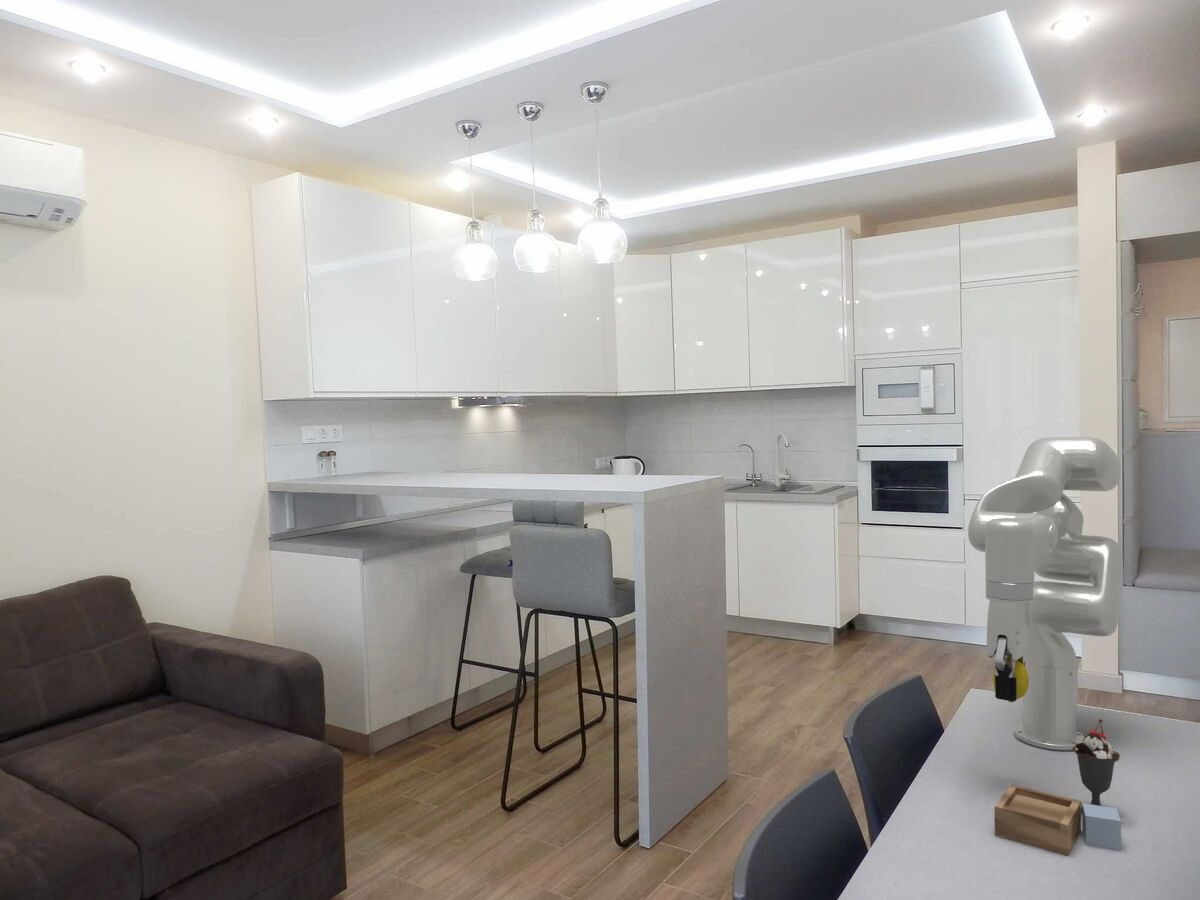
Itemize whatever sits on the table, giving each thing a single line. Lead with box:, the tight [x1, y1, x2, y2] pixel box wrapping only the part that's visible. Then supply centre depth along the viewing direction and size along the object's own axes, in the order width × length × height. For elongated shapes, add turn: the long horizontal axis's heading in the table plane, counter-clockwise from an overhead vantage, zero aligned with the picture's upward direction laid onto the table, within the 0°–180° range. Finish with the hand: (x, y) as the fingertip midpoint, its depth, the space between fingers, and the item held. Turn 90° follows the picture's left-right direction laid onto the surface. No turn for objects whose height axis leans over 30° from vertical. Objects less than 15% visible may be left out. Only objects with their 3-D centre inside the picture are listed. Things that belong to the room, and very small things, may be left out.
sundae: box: [1072, 719, 1121, 815], centre depth 133 cm, size 7×7×15 cm
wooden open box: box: [994, 784, 1082, 857], centre depth 128 cm, size 10×10×4 cm
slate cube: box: [1081, 802, 1122, 852], centre depth 125 cm, size 4×4×4 cm
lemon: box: [992, 656, 1029, 703], centre depth 142 cm, size 6×6×8 cm
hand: (1010, 693), depth 142 cm, fingers closed on lemon, 5 cm apart
